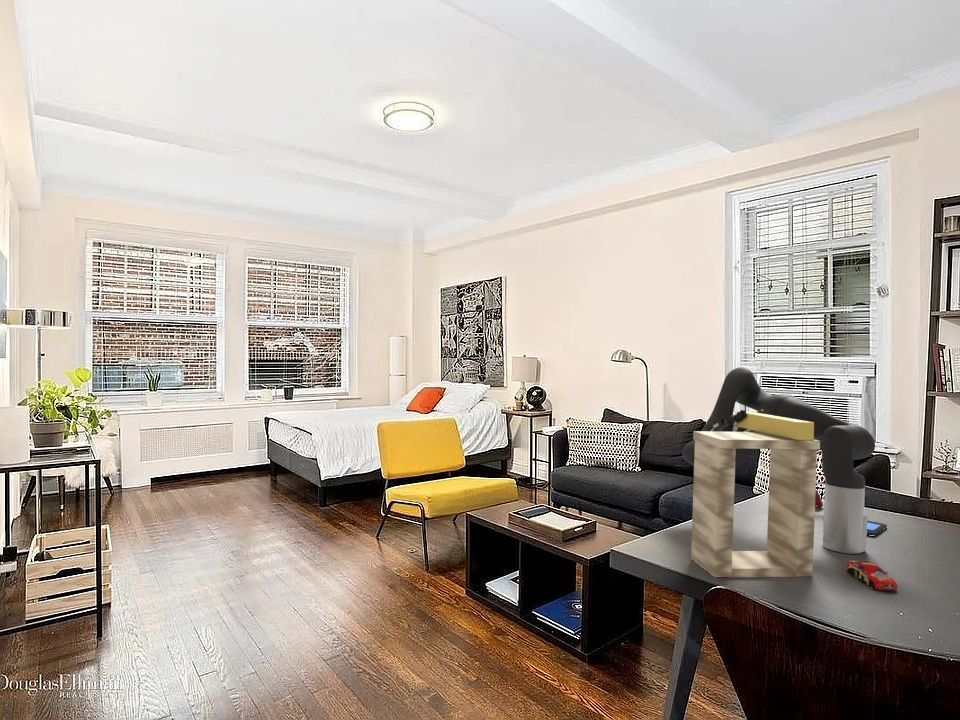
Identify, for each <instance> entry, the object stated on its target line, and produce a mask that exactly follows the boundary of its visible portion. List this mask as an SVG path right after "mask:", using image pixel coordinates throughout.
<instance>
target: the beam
mask: <svg viewBox="0 0 960 720" xmlns="http://www.w3.org/2000/svg"><path fill="white" fill-rule="evenodd" d="M738 412H740V411H736V414H737V413H738ZM746 413H747V417H746V418H745V419H744V420H743V421H741V422H739V424H738V426H737V427H742V428H746V429H751V431H760V432H764V433H769V434H773V435H778V436H782V437H787V438H791V439H796V440H814V439H815V436H814V422H808V421H803V420H797V419H791V418H785V417H779V416H773V415H767V414H761V413H757V412H756V411H755V412H753V411H746Z"/></svg>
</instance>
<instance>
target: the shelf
mask: <svg viewBox="0 0 960 720" xmlns="http://www.w3.org/2000/svg"><path fill="white" fill-rule="evenodd" d="M692 434H693V435H692V437H693V438H692V440H695V456H694V466H693V487H692V489H693V490H692V493H693V494H692V517H691V518H692V520H691V521H692V522H691V525H692V527H691V552H690V553H691V555H690V559H691V558H692V559H693V560H694V561H696V562H697V563H698V564H700V565H701V566H702V567H703V568H705V569H706V570H707V571H708V572H710V573H711V574H712V575H713V576H715V577H729V578H772V577H773V578H777V577H778V578H786V577H789V578H790V577H791V578H792V577H793V578H795V577H813V571H814V567H813V566H814V544H815V543H814V542H815V516H816V515H815V514H816V513H815V511H816V507H815V491H816V490H817V489H816V486H817V485H816V484H817V462H818V461H817V459H818V458H817V457H818V454H817V452H818V450H821V440H818V439H815V438H814V440H796V439H791V438H787V437H782V436H778V435H773V434H769V433H764V432H760V431H755V430H751V431H750V432H714V431H702V430H701V431H699V430H697V431H695V430H694V431H693V432H692ZM738 449H740V450H741V449H744V450H745V449H750V450H754V449H756V450H758V449H759V450H769V477H768V478H769V480H768V481H769V482H768V503H767V504H768V506H767V508H768V509H767V511H768V512H767V533H766V537H767V538H766V539H767V540H766V550H733V543H734V540H733V538H734V514H735V513H734V511H735V509H734V508H735V507H734V506H735V485H736V482H735V481H736V480H735V479H736V458H737V457H736V455H737V452H736V451H737V450H738ZM694 561H693V562H694ZM698 564H697V565H698ZM702 567H701V568H702ZM703 568H702V569H703ZM706 570H705V571H706ZM707 571H706V572H707ZM708 572H707V573H708ZM711 574H710V575H711ZM712 575H711V576H712ZM713 576H712V577H713ZM715 577H714V578H715Z"/></svg>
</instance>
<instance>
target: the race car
mask: <svg viewBox="0 0 960 720" xmlns="http://www.w3.org/2000/svg"><path fill="white" fill-rule="evenodd" d="M846 572H847V573H848V575H849V574H850V576H851V575H852V576H851V577H854V578H856V579H857V580H858V581H860V582H862V583H863V584H865V585H867V586H869V588H870V587H872V588H873V589H872V588H871V589H872V590H877V591H878V590H880V591H886V592H896V591H897V590H898V583H897V581H896V580H894V578H892V577H891V576H889V575H888V574H889V572H888V571H885V570H883V568H881V567H880V566H878V564H875V563H873V562H872V561H865V560H864V561H863V560H848V562H847V564H846Z"/></svg>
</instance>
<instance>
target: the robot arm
mask: <svg viewBox="0 0 960 720" xmlns="http://www.w3.org/2000/svg"><path fill="white" fill-rule="evenodd" d="M721 385H722V386H721V388H720V392H719V393H718V397H717V399H716V402H715V405H714V407H713V410H712V412H711V414H710V415H709V417H708V419H707V421H706V422H705V424H704V425H703V428H702V429H701V431H714V432H752V430H751V429H746V428H742V427H737V426H738V424H739V422H741V421H743V420H744V419H745V418H746V417H747V413H746V412H747V411H746V409H741V410H740V411H739V412H738V413H737V412H736V414H734V410H735V406H736V403H738V404H739V405H742V406H744V407H747V408H749V409H752V410H754V411H756V413H761V414H767V415H773V416H779V417H785V418H791V419H797V420H803V421H808V422H814V438H819V439H821V451H822V453H821V468H822V473H823V475H824V497H823V498H824V502H823V503H824V504H823V524H822V525H823V527H822V532H823V533H822V546H823V547H824V548H825V549H827V550H830V551H833V552H836V553H837V552H838V553H843V554H855V555H857V554H861V553H863V552H864V551H866V552H867V538H868V536H867V521H868V515H865V495H866V494H865V492H866V479H865V477H864V476H863V475H862V474H860V473H858V472H856V471H855V469H854V461H855V460H857V461H858V460H863V459H865V458H868V457H870V456H871V455H872V454H873V453H874V451H875V448H876V442H875V439H874V437H873V435H872V434H871V433H870V432H869V430H868V429H866V428H864V427H862V426H860V425H858V424H855V423H852V422H848V421H846V420H843V419H841V418H838V417H836V416H833V415H831V414H829V413H827V412H826V411H823V410H822V409H819V408H817V407H816V406H814V405H812V404H810V403H808V402H806V401H804V400H803V399H800V398H798V397H796V396H794V395H791V394H788V393H781V394H780V393H779V394H774V395H773V394H771V393H769V392H768V391H766V390H764V389H763V388H761V386H760V385H759V383H758V381H757V379H756V378H755V375H754V373H753V372H752V371H751V369H749V368H748V367H742V366H741V367H737V368H734V369H732V370H730V371H729V372H728V373H727V374H726V376H725V378H724V380H723V382H722V384H721ZM681 453H682V454H681V455H682V459H684V460H685V462H687V463H689V464H690V465H692V466H693V467H694V456H695V440H694V439H692V440H691V441H689V442H688V443H686V445H685V446H684V447H683V449H682V451H681Z"/></svg>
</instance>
